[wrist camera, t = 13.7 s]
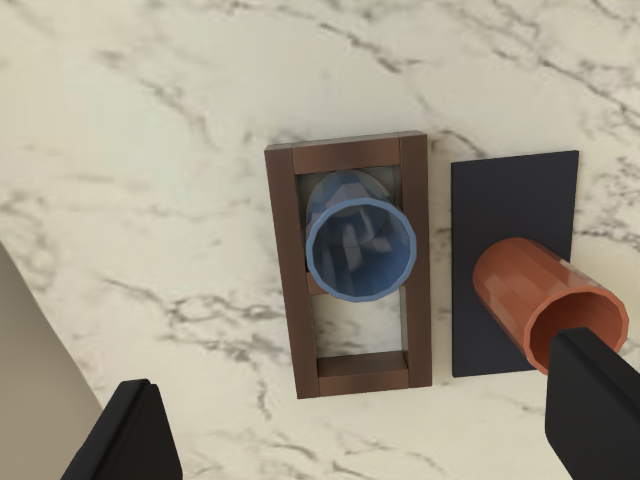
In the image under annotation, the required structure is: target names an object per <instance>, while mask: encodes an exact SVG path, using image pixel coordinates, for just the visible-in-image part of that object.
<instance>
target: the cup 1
mask: <svg viewBox="0 0 640 480" xmlns="http://www.w3.org/2000/svg"><path fill="white" fill-rule="evenodd" d="M306 255H307V263H308V268H309V270H310V272H311V274H312V275H313V277H314V279H315V280H316V282H317V284H318V285H319V286H320V287H321V288H323V289H324V290H325V291H327V292H328V293H329V294H331V295H332V296H334V297H335V298H339V299H343V300H347V301H350V302H355V303H357V302H367V301H375V300H378V299H380V298H382V297H384V296H386V295H388V294H390V293H393V292H394V291H396V290H397V289H398V287H399V286H400V285H401V284H402V283H403V282H404V281H405V280H406V279H407V278H408V277H409V275H410V273H411V270H412V268H413V265H414V263H415V260H416V258H417V246H416V235H415V233H414V231H413V229H412V227H411V225H410V223H409V221H408V218H407V217H406V216H405V214H404V213H403V212H402V210H401V209H400V208H399V206H398V205H397V204H396V202H395V201H394V200H393V198H392V197H391V196H390V194H389V193H388V192H387V190H386V189H385V188H384V186H383V185H382V184H381V183H379V182H378V181H377V180H376V179H375V178H374V177H372V176H371V175H369V174H367V173H365V172H362V171H358V170H340V171H337V172H334V173H331V174H329V175H328V176H326V177H324V178H323V179H322V180H321V181H320V182H319V183H318V184H317V185H316V186H315V187H314V189H313V191H312V192H311V194H310V197H309V200H308V204H307V208H306Z"/></svg>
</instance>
